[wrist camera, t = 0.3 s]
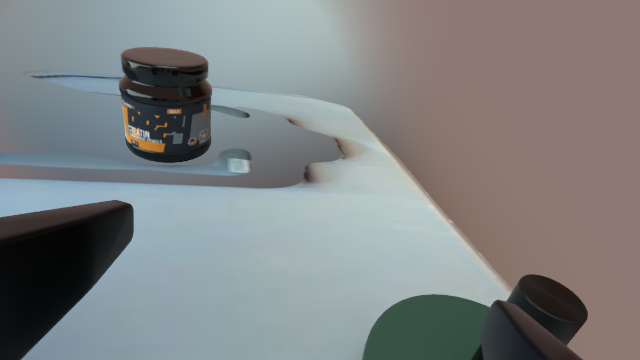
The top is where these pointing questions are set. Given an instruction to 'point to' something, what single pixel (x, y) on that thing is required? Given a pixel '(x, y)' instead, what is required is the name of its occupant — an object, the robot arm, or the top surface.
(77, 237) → the robot arm
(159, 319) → the top surface
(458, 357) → the lid
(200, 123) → the supplement container
